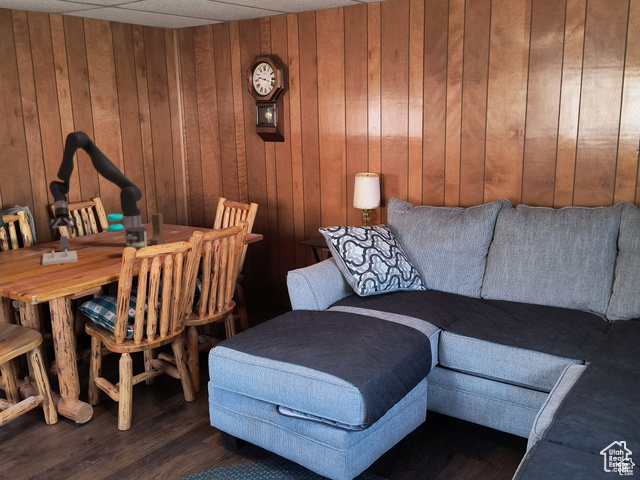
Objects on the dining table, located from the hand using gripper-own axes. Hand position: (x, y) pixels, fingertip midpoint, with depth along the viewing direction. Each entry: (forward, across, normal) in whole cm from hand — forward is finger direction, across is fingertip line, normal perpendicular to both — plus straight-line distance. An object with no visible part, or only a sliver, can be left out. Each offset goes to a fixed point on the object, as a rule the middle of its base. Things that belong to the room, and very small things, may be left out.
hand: (63, 234), depth 327 cm
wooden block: (+15, +48, -3) cm, 50 cm away
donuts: (-28, +30, +40) cm, 58 cm away
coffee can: (+28, +35, -15) cm, 47 cm away
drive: (+9, 0, +3) cm, 10 cm away
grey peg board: (+22, -2, -9) cm, 23 cm away
